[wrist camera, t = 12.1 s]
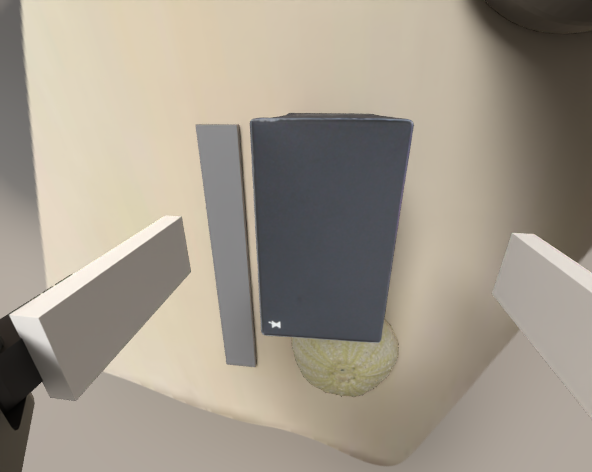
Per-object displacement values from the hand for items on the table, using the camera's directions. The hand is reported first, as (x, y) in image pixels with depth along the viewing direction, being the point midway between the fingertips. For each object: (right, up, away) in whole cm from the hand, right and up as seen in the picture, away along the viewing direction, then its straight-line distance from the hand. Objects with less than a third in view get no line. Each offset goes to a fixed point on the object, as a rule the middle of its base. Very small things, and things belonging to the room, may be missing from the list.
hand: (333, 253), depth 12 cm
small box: (+1, +4, +10) cm, 11 cm away
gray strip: (-7, -2, +14) cm, 15 cm away
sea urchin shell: (+3, -8, +15) cm, 18 cm away
